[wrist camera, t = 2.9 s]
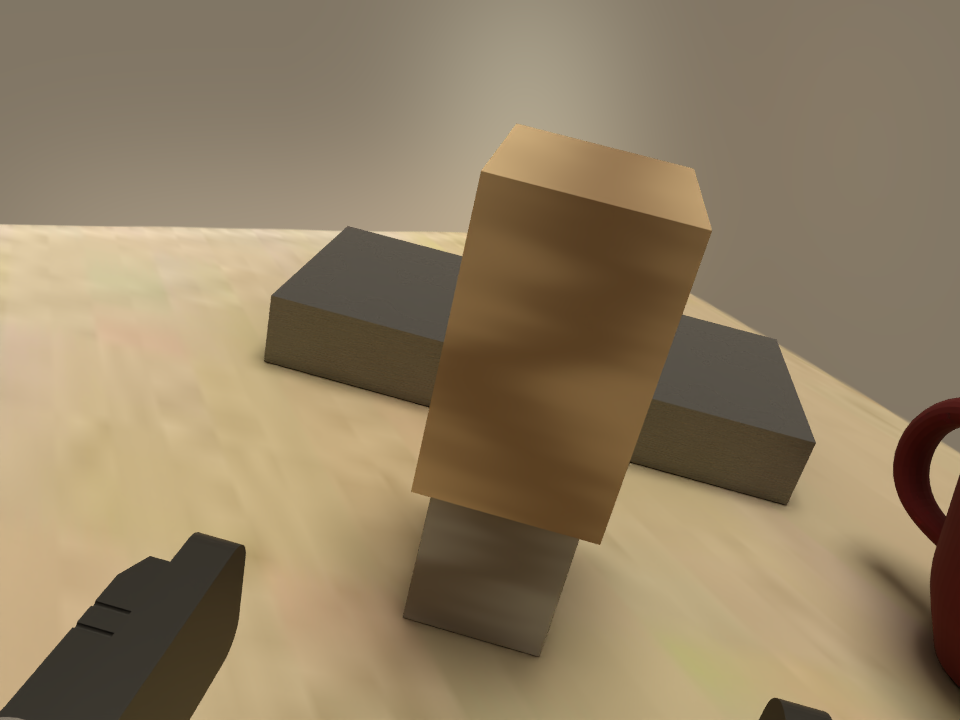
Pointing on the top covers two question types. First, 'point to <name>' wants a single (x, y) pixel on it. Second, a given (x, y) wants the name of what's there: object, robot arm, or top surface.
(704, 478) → the dark grey slab
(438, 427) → the tan wooden tall block
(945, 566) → the mug
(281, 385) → the top surface
